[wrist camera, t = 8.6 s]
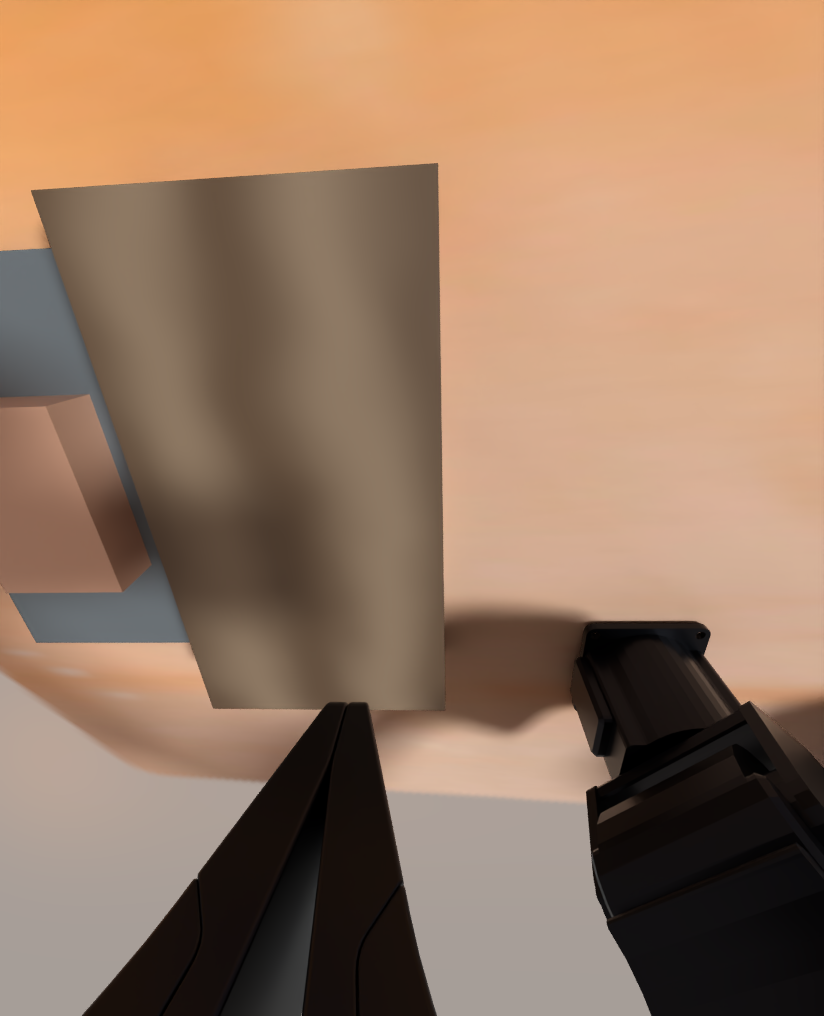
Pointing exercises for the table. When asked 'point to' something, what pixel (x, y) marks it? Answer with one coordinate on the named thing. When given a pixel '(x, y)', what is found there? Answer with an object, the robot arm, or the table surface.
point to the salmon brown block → (62, 501)
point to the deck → (278, 417)
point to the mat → (68, 371)
